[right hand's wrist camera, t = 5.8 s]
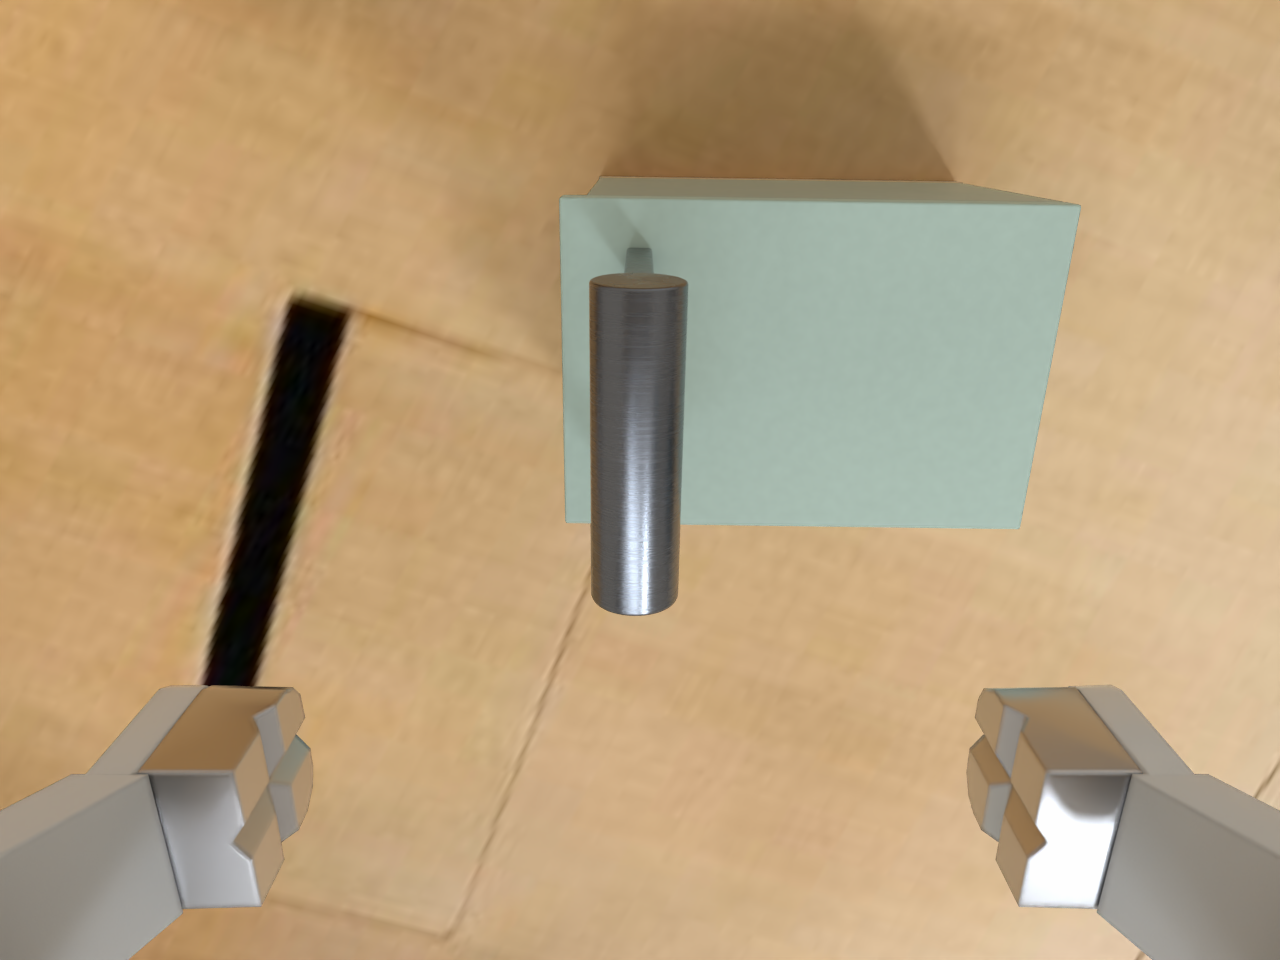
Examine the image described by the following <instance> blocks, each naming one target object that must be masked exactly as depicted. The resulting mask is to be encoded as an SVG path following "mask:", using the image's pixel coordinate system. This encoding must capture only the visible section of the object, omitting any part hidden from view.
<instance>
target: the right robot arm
mask: <svg viewBox="0 0 1280 960" xmlns="http://www.w3.org/2000/svg"><path fill="white" fill-rule="evenodd" d="M304 719H305V714H304V710H303V705H302V700H301V695H300V693H298V692H297V691H296V690H295V689H294V688H293V687H253V686H210V687H209V686H206V685H187V686H167V687H164V688H161V689H159V690H158V691H157V692H156V693H155V694H154V696H153V697H152V698H151V699H150V700H149V701H148V703H147V704H146V705H145V706H144V707H143V708H142V709H141V711H140V712H139V713H138V714H137V715H136V716H135V718H134V719H133V720H132V721H131V722H130V723H129V724H128V726H127V727H126V728H125V729H124V730H123V731H122V733H121V734H120V735H119V736H118V737H117V738H116V740H115V741H114V742H113V743H112V744H111V745H110V746H109V748H108V749H107V750H106V751H105V752H104V753H103V755H102V756H101V757H100V758H99V759H98V760H97V761H96V763H95V764H94V765H93V766H92V767H91V768H90V770H89V771H88V772H87V773H86V774H71V775H69V776H67V777H65V778H63V779H61V780H60V781H58V782H56V783H54V784H52V785H50V786H48V787H46V788H44V789H42V790H40V791H38V792H36V793H34V794H32V795H30V796H28V797H26V798H24V799H22V800H20V801H18V802H16V803H14V804H12V805H10V806H8V807H7V808H5V809H3V810H1V811H0V960H128V959H129V958H131V957H132V956H133V955H134V954H135V953H137V952H138V951H139V950H140V949H141V948H142V947H144V946H145V945H146V944H147V943H148V942H150V941H151V940H152V939H153V938H154V937H155V936H157V935H158V934H159V933H160V932H161V931H162V930H164V929H165V928H166V927H167V926H168V925H170V924H171V923H172V922H173V921H174V920H175V919H177V918H178V917H179V916H180V915H181V914H183V910H182V909H196V908H231V907H261V906H262V904H263V902H264V900H265V898H266V896H267V894H268V892H269V890H270V888H271V886H272V884H273V882H274V880H275V878H276V876H277V874H278V872H279V870H280V868H281V865H282V863H283V861H284V855H283V849H282V844H281V842H282V841H284V840H285V839H287V838H288V837H289V836H291V835H292V834H294V833H295V832H296V831H298V830H299V828H300V826H301V824H302V822H303V820H304V817H305V815H306V813H307V811H308V806H309V802H310V797H311V792H312V788H313V762H312V756H311V749H310V748H309V747H308V746H307V745H306V744H305V743H304V742H303V741H302V740H301V739H300V738H299V737H298V736H297V735H296V733H297V731H298V729H299V728H300V726H301V724H302V722H303V720H304ZM975 719H976V720H977V722H978V724H979V726H980V728H981V729H982V731H983V733H984V735H983V736H982V737H981V738H980V739H979V740H978V741H977V742H976V743H975V744H974V745H973V746H972V747H971V748H970V750H969V757H968V765H967V783H968V796H969V799H970V803H971V806H972V810H973V813H974V815H975V818H976V820H977V822H978V824H979V826H980V828H981V830H982V831H984V832H985V833H986V834H988V835H989V836H991V837H992V838H993V839H995V840H996V841H998V842H999V844H998V849H997V855H996V861H997V863H998V865H999V868H1000V870H1001V872H1002V874H1003V876H1004V878H1005V880H1006V882H1007V884H1008V886H1009V888H1010V890H1011V892H1012V894H1013V896H1014V898H1015V900H1016V902H1017V904H1018V906H1019V907H1048V908H1084V909H1097V913H1098V914H1099V915H1100V916H1101V917H1103V918H1104V919H1105V920H1106V921H1107V922H1108V923H1110V924H1111V925H1112V926H1113V927H1114V928H1116V929H1117V930H1118V931H1119V932H1120V933H1121V934H1123V935H1124V936H1125V937H1126V938H1127V939H1129V940H1130V941H1131V942H1132V943H1133V944H1134V945H1136V946H1137V947H1138V948H1139V949H1140V950H1141V951H1143V952H1144V953H1145V954H1146V955H1147V956H1149V957H1150V958H1151V959H1152V960H1280V811H1279V810H1277V809H1275V808H1273V807H1271V806H1269V805H1267V804H1265V803H1264V802H1262V801H1260V800H1258V799H1256V798H1254V797H1252V796H1250V795H1248V794H1246V793H1244V792H1242V791H1240V790H1238V789H1236V788H1234V787H1232V786H1230V785H1228V784H1226V783H1224V782H1222V781H1220V780H1218V779H1217V778H1215V777H1213V776H1211V775H1209V774H1194V773H1193V772H1192V771H1191V770H1190V768H1189V767H1188V766H1187V765H1186V764H1185V763H1184V762H1183V760H1182V759H1181V758H1180V757H1179V756H1178V755H1177V753H1176V752H1175V751H1174V750H1173V749H1172V748H1171V746H1170V745H1169V744H1168V743H1167V742H1166V741H1165V740H1164V738H1163V737H1162V736H1161V735H1160V734H1159V733H1158V731H1157V730H1156V729H1155V728H1154V727H1153V726H1152V725H1151V723H1150V722H1149V721H1148V720H1147V719H1146V718H1145V716H1144V715H1143V714H1142V713H1141V712H1140V711H1139V710H1138V708H1137V707H1136V706H1135V705H1134V704H1133V703H1132V701H1131V700H1130V699H1129V698H1128V697H1127V696H1126V694H1125V693H1124V692H1123V691H1122V690H1121V689H1119V688H1117V687H1114V686H1112V685H1092V686H1069V687H1049V688H984V689H983V691H982V693H981V695H980V697H979V699H978V703H977V709H976V714H975Z"/></svg>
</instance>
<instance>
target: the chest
mask: <svg viewBox="0 0 1280 960" xmlns="http://www.w3.org/2000/svg"><path fill="white" fill-rule="evenodd" d="M587 195H603V196H670V197H738V198H806V199H874V200H941V201H1009V202H1062V201H1056V200H1051V199H1045V198H1040V197H1034V196H1029V195H1023V194H1018V193H1012V192H1007V191H1001V190H996V189H990V188H985V187H980V186H974V185H969V184H963V183H961V182H956V181H892V180H824V179H757V178H689V177H622V176H600V177H599V180H598V181H597V183H596V184H595V185H594V187H593V188H592V189H591V190H590V192H589V193H588V194H587Z"/></svg>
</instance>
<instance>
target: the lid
mask: <svg viewBox="0 0 1280 960" xmlns="http://www.w3.org/2000/svg"><path fill="white" fill-rule="evenodd" d="M1080 210H1081V206H1080V205H1078V204H1073V203H1067V202H1009V201H941V200H874V199H806V198H738V197H670V196H603V195H563V196H561V197H560V199H559V215H560V268H561V320H562V372H563V425H564V477H565V521H566V523H591V595H592V598H593V600H594V601H595V603H596V604H597V605H599V606H600V607H601V608H603V609H605V610H607V611H610V612H612V613H616V614H621V615H628V616H642V615H650V614H654V613H658V612H661V611H663V610H665V609H667V608H669V607H670V606H672V605H673V604H674V602H675V601H676V599H677V596H678V577H679V547H680V524H683V525H757V526H830V527H904V528H978V529H1019V528H1020V524H1021V519H1022V514H1023V508H1024V503H1025V498H1026V493H1027V487H1028V482H1029V477H1030V472H1031V466H1032V461H1033V456H1034V451H1035V445H1036V440H1037V435H1038V430H1039V424H1040V419H1041V414H1042V409H1043V404H1044V398H1045V393H1046V388H1047V383H1048V377H1049V372H1050V367H1051V362H1052V356H1053V351H1054V346H1055V341H1056V335H1057V330H1058V325H1059V320H1060V314H1061V309H1062V304H1063V299H1064V293H1065V288H1066V283H1067V278H1068V273H1069V267H1070V262H1071V257H1072V252H1073V246H1074V241H1075V236H1076V231H1077V225H1078V220H1079V215H1080Z"/></svg>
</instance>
